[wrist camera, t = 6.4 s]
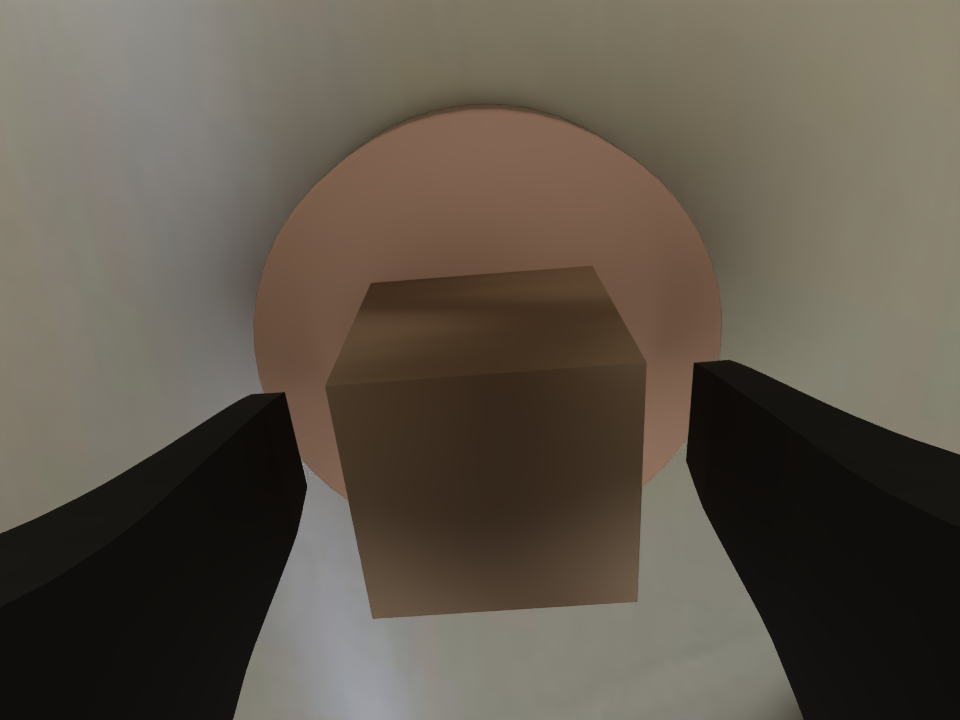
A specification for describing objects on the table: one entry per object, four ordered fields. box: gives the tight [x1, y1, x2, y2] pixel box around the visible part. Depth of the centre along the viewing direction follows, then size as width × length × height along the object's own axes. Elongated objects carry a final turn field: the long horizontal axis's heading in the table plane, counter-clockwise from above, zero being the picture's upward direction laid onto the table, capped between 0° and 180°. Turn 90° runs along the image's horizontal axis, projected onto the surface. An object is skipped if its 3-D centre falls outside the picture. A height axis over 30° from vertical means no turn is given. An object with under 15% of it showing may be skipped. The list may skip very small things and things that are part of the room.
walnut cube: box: [325, 266, 647, 619], centre depth 12 cm, size 4×4×4 cm
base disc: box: [254, 104, 722, 500], centre depth 15 cm, size 10×10×2 cm
